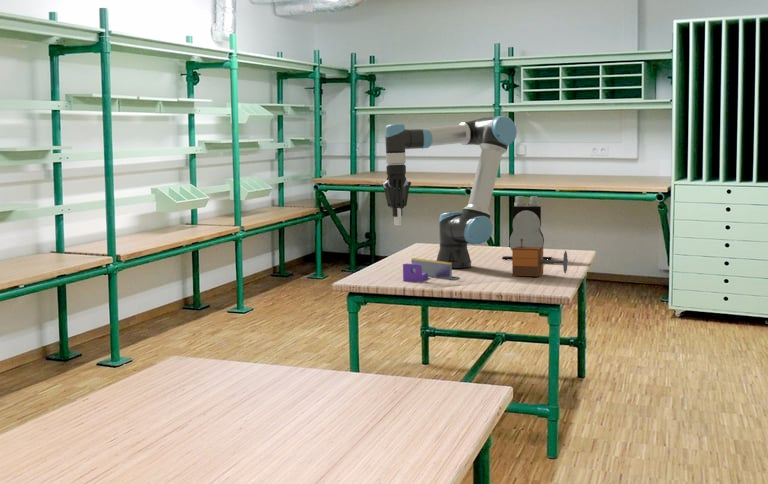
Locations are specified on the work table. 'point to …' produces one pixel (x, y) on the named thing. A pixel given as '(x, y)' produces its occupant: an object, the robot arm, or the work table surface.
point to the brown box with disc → (531, 261)
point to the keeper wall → (435, 268)
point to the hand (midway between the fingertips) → (397, 225)
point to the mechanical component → (526, 224)
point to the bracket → (413, 273)
